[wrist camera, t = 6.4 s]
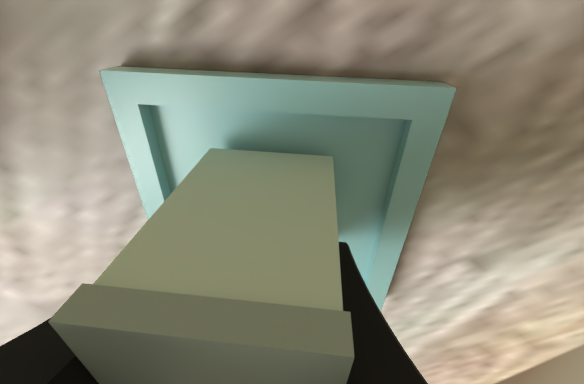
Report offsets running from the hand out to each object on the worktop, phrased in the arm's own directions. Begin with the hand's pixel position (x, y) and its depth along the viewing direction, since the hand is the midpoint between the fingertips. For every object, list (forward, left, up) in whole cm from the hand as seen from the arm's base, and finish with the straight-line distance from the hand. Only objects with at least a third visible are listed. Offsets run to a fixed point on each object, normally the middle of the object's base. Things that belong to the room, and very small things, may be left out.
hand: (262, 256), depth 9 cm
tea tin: (0, +1, -2) cm, 2 cm away
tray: (0, 0, -3) cm, 3 cm away
